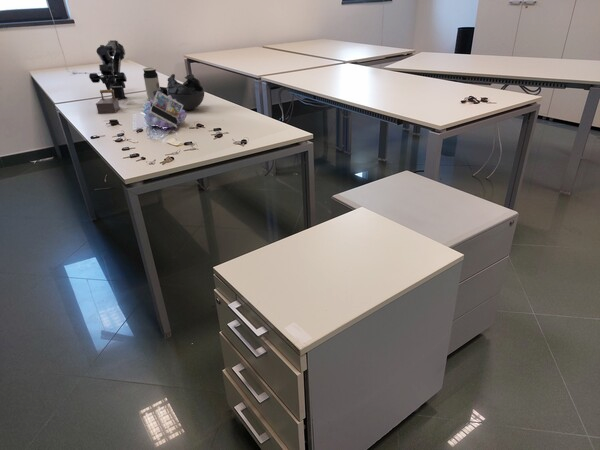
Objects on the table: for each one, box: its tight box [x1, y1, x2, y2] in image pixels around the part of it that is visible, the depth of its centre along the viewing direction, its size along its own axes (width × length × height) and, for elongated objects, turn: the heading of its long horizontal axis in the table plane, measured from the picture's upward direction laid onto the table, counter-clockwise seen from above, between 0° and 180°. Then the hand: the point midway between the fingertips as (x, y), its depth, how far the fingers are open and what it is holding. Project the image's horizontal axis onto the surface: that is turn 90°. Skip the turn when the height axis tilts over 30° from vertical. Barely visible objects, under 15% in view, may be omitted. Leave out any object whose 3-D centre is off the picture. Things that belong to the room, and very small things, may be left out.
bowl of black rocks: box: [166, 73, 205, 111], centre depth 230 cm, size 20×20×19 cm
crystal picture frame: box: [142, 90, 187, 131], centre depth 204 cm, size 20×22×18 cm
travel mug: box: [142, 67, 161, 101], centre depth 250 cm, size 8×8×18 cm
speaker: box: [153, 86, 168, 97], centre depth 239 cm, size 8×6×10 cm
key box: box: [95, 99, 120, 115], centre depth 231 cm, size 11×9×5 cm
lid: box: [95, 89, 118, 105], centre depth 229 cm, size 12×9×6 cm
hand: (108, 91), depth 235 cm, fingers closed
